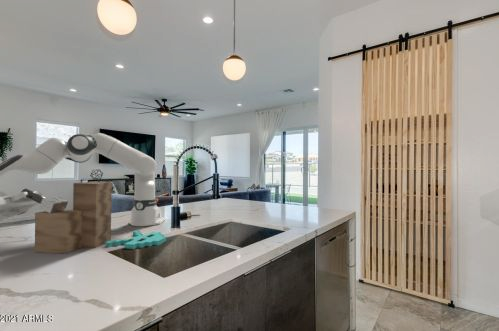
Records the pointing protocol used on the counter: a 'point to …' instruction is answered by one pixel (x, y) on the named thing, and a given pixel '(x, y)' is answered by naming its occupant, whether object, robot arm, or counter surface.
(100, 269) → the counter surface
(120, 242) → the alien figure
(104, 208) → the step stand
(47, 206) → the mallet
